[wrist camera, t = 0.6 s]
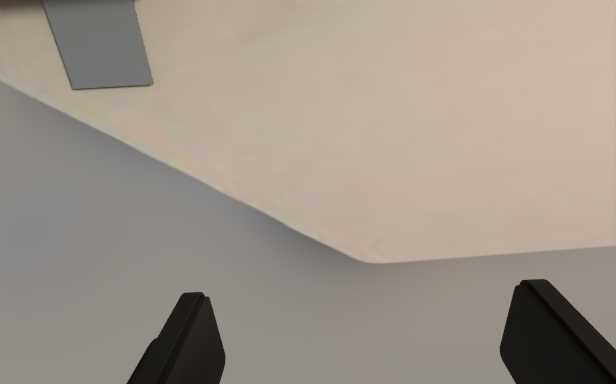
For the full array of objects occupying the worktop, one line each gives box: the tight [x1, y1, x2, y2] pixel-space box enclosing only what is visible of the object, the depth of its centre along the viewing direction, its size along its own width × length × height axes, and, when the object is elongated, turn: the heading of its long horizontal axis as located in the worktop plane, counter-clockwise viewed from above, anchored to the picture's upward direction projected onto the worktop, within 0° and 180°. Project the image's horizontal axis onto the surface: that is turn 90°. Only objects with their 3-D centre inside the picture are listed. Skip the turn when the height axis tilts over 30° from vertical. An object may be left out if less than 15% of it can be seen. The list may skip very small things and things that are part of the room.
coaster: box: [42, 0, 153, 89], centre depth 33 cm, size 9×9×1 cm
